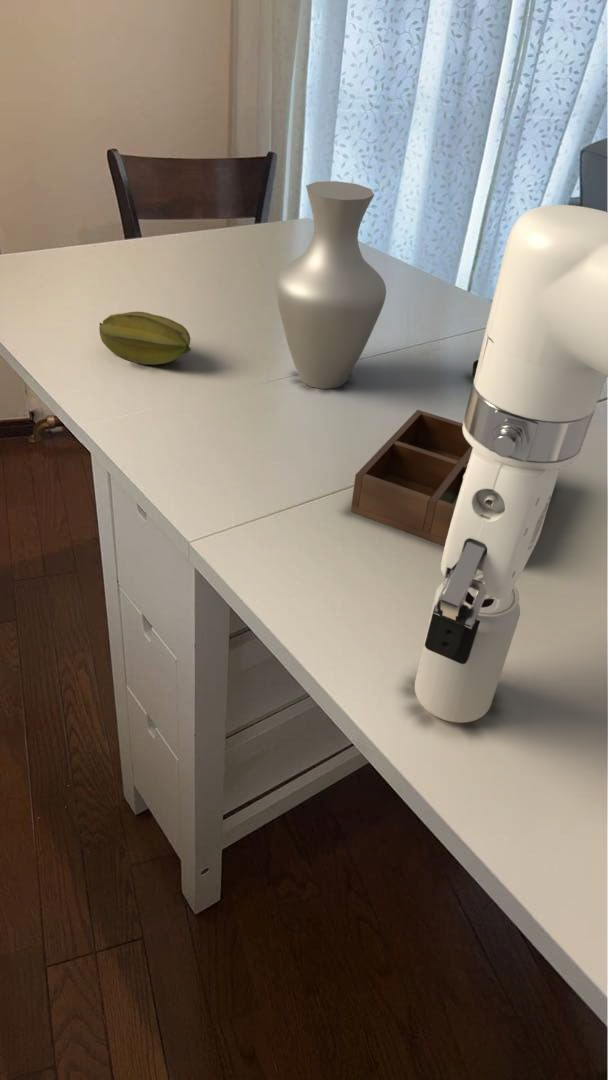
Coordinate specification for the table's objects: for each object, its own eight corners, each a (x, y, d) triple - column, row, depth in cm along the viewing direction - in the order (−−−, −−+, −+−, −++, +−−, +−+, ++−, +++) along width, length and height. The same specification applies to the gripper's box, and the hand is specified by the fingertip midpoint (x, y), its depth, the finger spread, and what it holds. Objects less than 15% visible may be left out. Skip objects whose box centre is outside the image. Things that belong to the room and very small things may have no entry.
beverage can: (401, 708, 65) (425, 598, 58) (429, 659, 70) (454, 552, 62) (475, 740, 63) (510, 631, 56) (499, 688, 68) (534, 580, 60)
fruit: (177, 339, 118) (176, 295, 114) (193, 375, 109) (193, 329, 105) (98, 344, 115) (94, 299, 111) (109, 382, 106) (104, 335, 102)
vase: (395, 385, 111) (424, 196, 96) (318, 413, 103) (337, 212, 88) (325, 348, 120) (342, 169, 104) (249, 371, 112) (256, 181, 96)
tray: (548, 488, 93) (559, 453, 90) (504, 568, 81) (516, 530, 78) (411, 443, 99) (417, 409, 96) (350, 511, 86) (355, 474, 84)
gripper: (549, 504, 43) (478, 711, 53) (612, 385, 55) (545, 572, 66) (420, 459, 45) (377, 665, 56) (509, 354, 58) (459, 539, 68)
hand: (468, 615), depth 61 cm, fingers open, 9 cm apart
